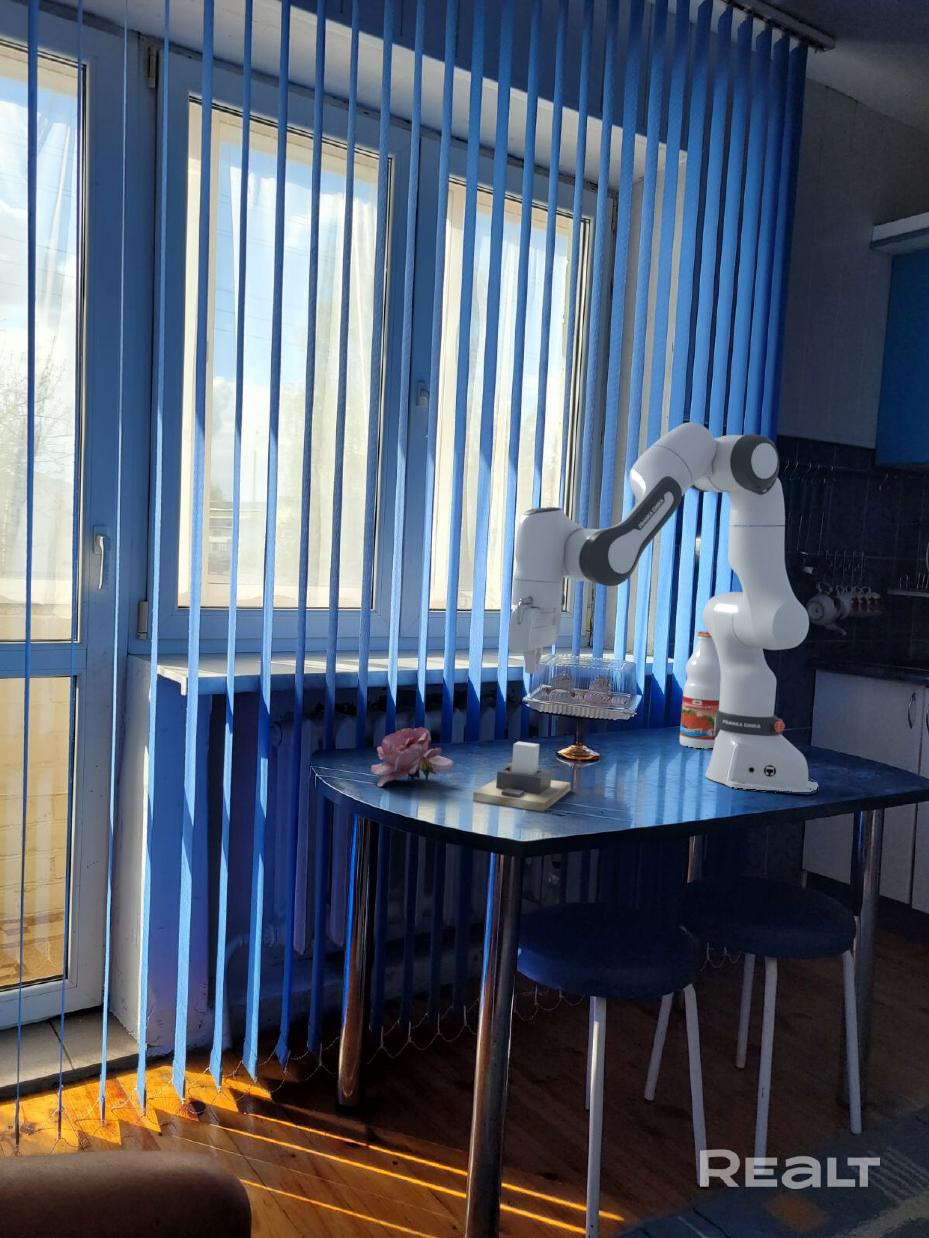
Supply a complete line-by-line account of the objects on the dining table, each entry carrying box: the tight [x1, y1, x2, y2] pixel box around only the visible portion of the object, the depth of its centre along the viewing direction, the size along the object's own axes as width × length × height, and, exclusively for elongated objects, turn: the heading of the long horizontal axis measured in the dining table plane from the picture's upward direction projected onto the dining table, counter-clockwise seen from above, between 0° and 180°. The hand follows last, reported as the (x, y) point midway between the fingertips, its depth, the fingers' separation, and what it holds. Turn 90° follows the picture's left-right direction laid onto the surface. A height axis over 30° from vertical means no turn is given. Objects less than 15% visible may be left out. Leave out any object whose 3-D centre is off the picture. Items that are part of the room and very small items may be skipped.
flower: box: [370, 726, 454, 788], centre depth 187 cm, size 15×15×10 cm
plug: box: [509, 741, 540, 775], centre depth 184 cm, size 5×3×8 cm, turn 69°
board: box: [472, 778, 571, 812], centre depth 184 cm, size 13×18×2 cm
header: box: [496, 764, 552, 795], centre depth 184 cm, size 8×7×3 cm
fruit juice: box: [679, 630, 721, 750], centre depth 245 cm, size 9×9×28 cm
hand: (531, 672), depth 183 cm, fingers closed
